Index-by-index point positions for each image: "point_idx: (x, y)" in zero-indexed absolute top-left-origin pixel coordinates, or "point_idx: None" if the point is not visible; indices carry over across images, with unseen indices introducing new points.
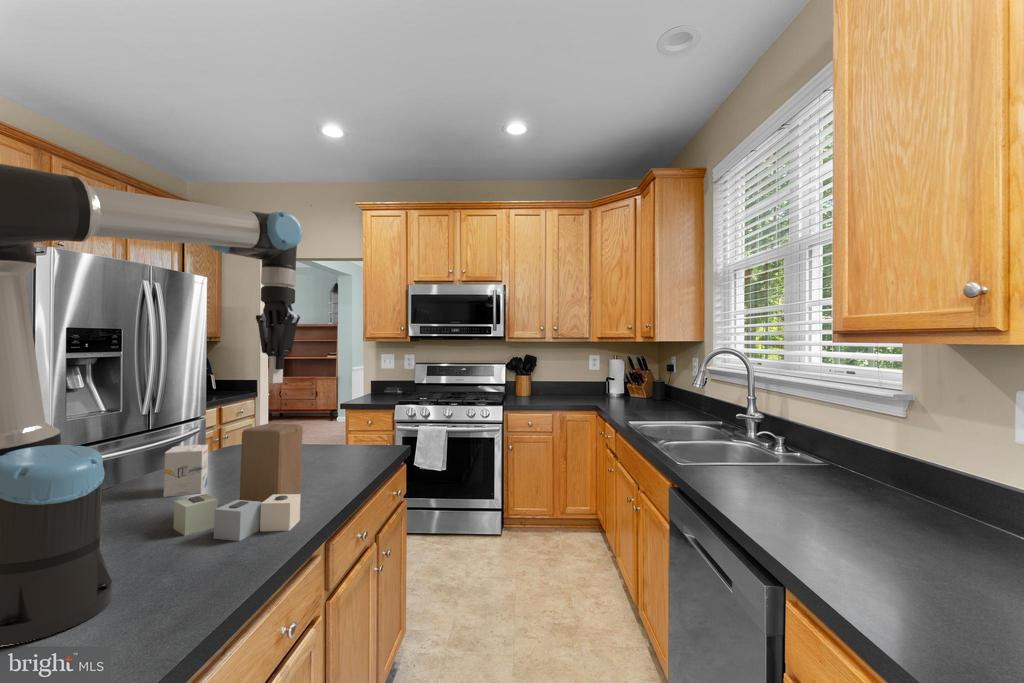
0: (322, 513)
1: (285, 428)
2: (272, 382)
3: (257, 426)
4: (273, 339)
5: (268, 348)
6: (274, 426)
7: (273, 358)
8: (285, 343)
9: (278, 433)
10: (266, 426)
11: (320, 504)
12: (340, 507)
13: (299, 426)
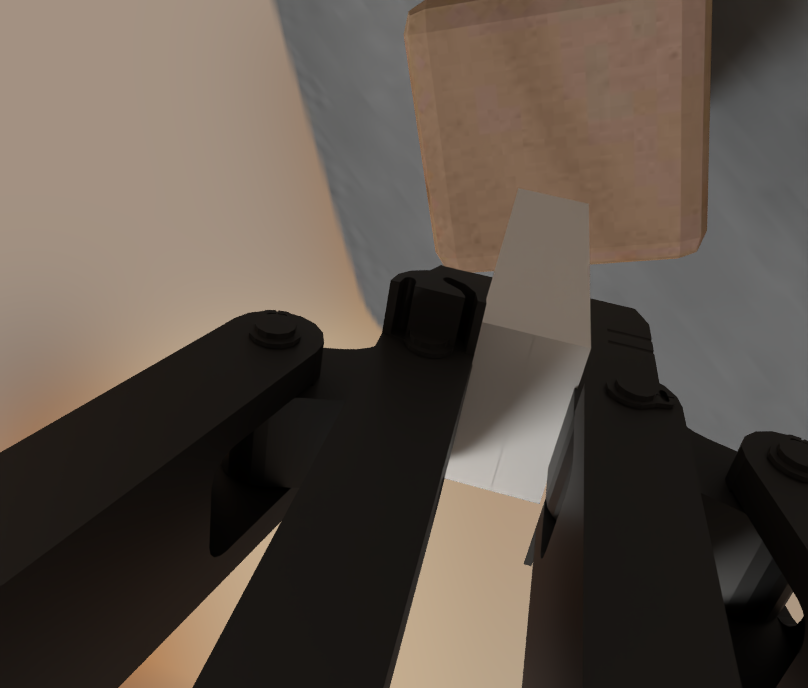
0: (342, 80)
1: (432, 106)
2: (524, 192)
3: (668, 102)
4: (558, 654)
5: (643, 454)
6: (551, 143)
7: (487, 308)
8: (106, 408)
9: (415, 10)
10: (605, 125)
11: (413, 166)
12: (323, 156)
13: (436, 238)
